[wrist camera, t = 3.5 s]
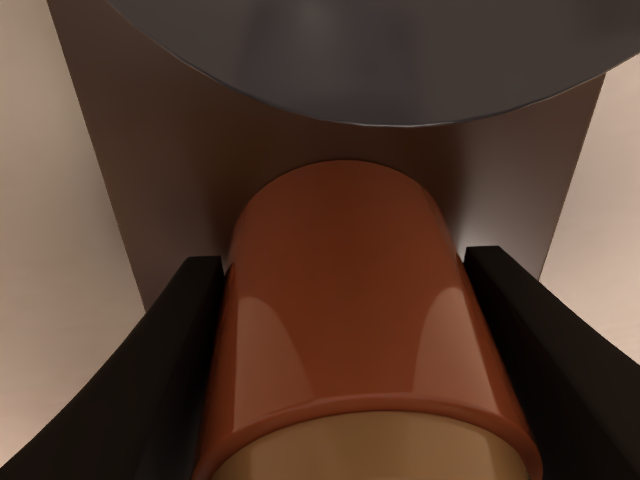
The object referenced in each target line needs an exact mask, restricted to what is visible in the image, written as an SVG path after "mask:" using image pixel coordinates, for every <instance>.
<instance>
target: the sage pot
mask: <svg viewBox="0 0 640 480" xmlns="http://www.w3.org/2000/svg"><path fill="white" fill-rule="evenodd" d="M105 1H106V2H107V3H108V4H109V5H110V6H112V7H113V8H114V9H115V10H116V11H117V12H118V13H119V14H120V15H121V16H122V17H124V18H125V19H126V20H127V21H128V22H129V23H130V24H131V25H132V26H133V27H135V28H136V29H137V30H139V31H140V32H141V33H143V34H144V35H145V36H147V37H148V38H150V39H151V40H152V41H154V42H155V43H156V44H158V45H159V46H160V47H162V48H163V49H164V50H166V51H167V52H169V53H170V54H171V55H173V56H174V57H175V58H177V59H178V60H179V61H181V62H183V63H184V64H186V65H188V66H190V67H191V68H193V69H195V70H197V71H198V72H200V73H202V74H204V75H205V76H207V77H209V78H211V79H212V80H214V81H216V82H218V83H219V84H221V85H223V86H225V87H226V88H229V89H231V90H233V91H236V92H238V93H240V94H243V95H245V96H247V97H250V98H252V99H255V100H257V101H259V102H262V103H264V104H266V105H269V106H271V107H274V108H278V109H281V110H285V111H288V112H292V113H295V114H299V115H302V116H306V117H309V118H313V119H316V120H321V121H327V122H334V123H340V124H347V125H353V126H360V127H375V128H409V129H410V128H421V127H432V126H442V125H453V124H460V123H464V122H469V121H474V120H478V119H483V118H488V117H492V116H497V115H502V114H505V113H508V112H511V111H514V110H517V109H520V108H523V107H526V106H529V105H532V104H535V103H538V102H541V101H544V100H547V99H550V98H553V97H555V96H557V95H559V94H561V93H564V92H566V91H568V90H570V89H573V88H575V87H577V86H579V85H581V84H584V83H586V82H588V81H590V80H592V79H595V78H597V77H599V76H601V75H603V74H604V73H606V72H608V71H609V70H611V69H613V68H615V67H616V66H618V65H620V64H622V63H623V62H625V61H627V60H629V59H630V58H632V57H634V56H635V55H637V54H639V53H640V0H105Z"/></svg>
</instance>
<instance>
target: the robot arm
mask: <svg viewBox="0 0 640 480" xmlns="http://www.w3.org/2000/svg"><path fill="white" fill-rule="evenodd" d="M463 264H464V267H465V269H466V271H467V274H468V276H469V279H470V281H471V284H472V286H473V289H474V291H475V294H476V296H477V298H478V301H479V303H480V306H481V308H482V311H483V313H484V316H485V318H486V320H487V323H488V325H489V328H490V330H491V333H492V335H493V338H494V340H495V343H496V345H497V347H498V350H499V352H500V355H501V357H502V360H503V362H504V365H505V367H506V370H507V372H508V374H509V377H510V379H511V382H512V384H513V387H514V389H515V392H516V394H517V396H518V399H519V401H520V404H521V406H522V409H523V411H524V414H525V416H526V419H527V421H528V423H529V426H530V428H531V431H532V433H533V436H534V438H535V441H536V443H537V446H538V448H539V450H540V453H541V455H542V461H543V467H544V472H543V480H640V365H639V364H637V363H636V362H635V361H633V360H632V359H631V358H630V357H628V356H627V355H626V354H624V353H623V352H622V351H620V350H619V349H618V348H617V347H615V346H614V345H613V344H611V343H610V342H609V341H608V340H606V339H605V338H604V337H603V336H601V335H600V334H599V333H598V332H597V331H595V330H594V329H593V328H592V327H590V326H589V325H588V324H587V323H586V322H584V321H583V320H582V319H581V318H580V317H579V316H577V315H576V314H575V313H574V312H573V311H572V310H570V309H569V308H568V307H567V306H566V305H565V304H563V303H562V302H561V301H560V300H559V299H558V298H557V297H556V296H554V295H553V294H552V293H551V292H550V291H549V290H548V289H547V288H545V287H544V286H543V285H542V284H541V283H540V282H539V281H538V280H537V279H535V278H534V277H533V276H532V275H531V274H530V273H529V272H528V271H527V270H526V269H524V268H523V267H522V266H521V265H520V264H519V263H518V262H517V261H516V260H515V259H513V258H512V257H511V256H510V255H509V254H508V253H507V252H506V251H504V250H503V249H502V248H501V247H500V246H499V245H497V246H470V247H466V251H465V256H464V261H463ZM224 277H225V276H224V271H223V265H222V259H221V256H194V257H188V258H187V259H186V260H185V261H184V262H183V263H182V264H181V266H180V267H179V269H178V270H177V271H176V273H175V274H174V276H173V277H172V278H171V280H170V281H169V283H168V284H167V285H166V287H165V288H164V290H163V291H162V292H161V294H160V295H159V296H158V298H157V299H156V300H155V302H154V303H153V304H152V306H151V307H150V308H149V310H148V311H147V312H146V314H145V315H144V316H143V317H142V319H141V320H140V321H139V322H138V324H137V325H136V326H135V327H134V329H133V330H132V331H131V333H130V334H129V335H128V336H127V338H126V339H125V340H124V341H123V343H122V344H121V345H120V346H119V347H118V349H117V350H116V351H115V352H114V353H113V354H112V355H111V357H110V358H109V359H108V360H107V361H106V362H105V363H104V365H103V366H102V367H101V368H100V369H99V370H98V371H97V373H96V374H95V375H94V376H93V377H92V378H91V379H90V381H89V382H88V383H87V384H86V385H85V386H84V387H83V388H82V389H81V390H80V391H79V392H78V394H77V395H76V396H75V397H74V398H73V399H72V400H71V401H70V402H69V403H68V404H67V405H66V406H65V407H64V408H63V409H62V410H61V411H60V412H59V413H58V414H57V415H56V416H55V417H54V418H53V419H52V420H51V421H50V422H49V423H48V424H47V425H46V426H45V427H44V428H43V429H42V430H41V431H40V432H39V433H38V434H37V435H36V436H35V437H34V438H33V439H32V440H31V441H30V442H28V443H27V444H26V445H25V446H24V447H23V448H22V449H21V450H20V451H19V452H17V453H16V454H15V455H14V456H13V457H12V458H11V459H10V460H9V461H8V462H6V463H5V464H4V465H3V466H2V467H1V468H0V480H189V479H190V473H191V467H192V461H193V456H194V450H195V444H196V438H197V432H198V427H199V421H200V415H201V409H202V404H203V398H204V392H205V386H206V380H207V375H208V369H209V363H210V357H211V352H212V346H213V340H214V334H215V329H216V323H217V317H218V311H219V305H220V300H221V294H222V288H223V282H224Z"/></svg>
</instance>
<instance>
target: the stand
mask: <svg viewBox="0 0 640 480" xmlns="http://www.w3.org/2000/svg"><path fill="white" fill-rule="evenodd" d="M47 3H48V6H49V9H50V12H51V15H52V19H53V22H54V25H55V28H56V31H57V34H58V38H59V41H60V44H61V47H62V50H63V53H64V56H65V60H66V63H67V66H68V69H69V72H70V75H71V78H72V82H73V85H74V88H75V91H76V94H77V97H78V101H79V104H80V107H81V110H82V113H83V116H84V119H85V123H86V126H87V129H88V132H89V135H90V138H91V141H92V145H93V148H94V151H95V154H96V157H97V160H98V164H99V167H100V170H101V173H102V176H103V179H104V182H105V186H106V189H107V192H108V195H109V198H110V201H111V205H112V208H113V211H114V214H115V217H116V220H117V223H118V227H119V230H120V233H121V236H122V239H123V242H124V245H125V249H126V252H127V255H128V258H129V261H130V264H131V268H132V271H133V274H134V277H135V280H136V283H137V286H138V290H139V293H140V296H141V299H142V302H143V305H144V308H145V312H147V311H148V310H149V308H150V307H151V306H152V304H153V303H154V302H155V300H156V299H157V298H158V296H159V295H160V294H161V292H162V291H163V290H164V288H165V287H166V285H167V284H168V283H169V281H170V280H171V278H172V277H173V276H174V274H175V273H176V271H177V270H178V269H179V267H180V266H181V264H182V263H183V262H184V261H185V260H186V259H187V258H188V257H194V256H221V259H222V265H223V271H224V276H225V271H226V265H227V259H228V253H229V248H230V242H231V237H232V233H233V229H234V226H235V224H236V222H237V219H238V217H239V215H240V214H241V212H242V211H243V209H244V208H245V206H246V204H247V203H248V202H249V201H250V200H251V199H252V198H253V197H254V195H255V194H256V193H258V192H259V191H260V190H261V189H262V188H264V187H265V186H266V185H267V184H269V183H270V182H272V181H273V180H275V179H276V178H278V177H279V176H281V175H284V174H286V173H288V172H290V171H292V170H294V169H297V168H300V167H303V166H306V165H309V164H314V163H318V162H323V161H332V160H359V161H365V162H372V163H376V164H379V165H383V166H387V167H389V168H392V169H394V170H396V171H399V172H401V173H403V174H405V175H406V176H408V177H410V178H411V179H413V180H415V181H416V182H417V183H418V184H420V185H421V186H422V187H423V188H425V189H426V191H427V192H428V193H429V194H430V195H431V196H432V197H433V198H434V200H435V201H436V203H437V204H438V206H439V207H440V209H441V211H442V213H443V215H444V218H445V220H446V222H447V225H448V227H449V230H450V232H451V235H452V237H453V240H454V242H455V244H456V247H457V249H458V252H459V254H460V257H461V259H462V262H463V261H464V256H465V251H466V247H470V246H497V245H499V246H500V247H501V248H502V249H503V250H504V251H506V252H507V253H508V254H509V255H510V256H511V257H512V258H513V259H515V260H516V261H517V262H518V263H519V264H520V265H521V266H522V267H523V268H524V269H526V270H527V271H528V272H529V273H530V274H531V275H532V276H533V277H534V278H535V279H537V280H538V281H539V278H540V275H541V272H542V269H543V266H544V263H545V260H546V257H547V254H548V251H549V248H550V245H551V242H552V238H553V235H554V232H555V229H556V226H557V223H558V220H559V217H560V214H561V211H562V208H563V205H564V201H565V198H566V195H567V192H568V189H569V186H570V183H571V180H572V177H573V174H574V171H575V168H576V165H577V161H578V158H579V155H580V152H581V149H582V146H583V143H584V140H585V137H586V134H587V131H588V128H589V124H590V121H591V118H592V115H593V112H594V109H595V106H596V103H597V100H598V97H599V94H600V91H601V88H602V84H603V81H604V78H605V75H606V73H604V74H603V75H601V76H599V77H597V78H595V79H592V80H590V81H588V82H586V83H584V84H581V85H579V86H577V87H575V88H573V89H570V90H568V91H566V92H564V93H561V94H559V95H557V96H555V97H553V98H550V99H547V100H544V101H541V102H538V103H535V104H532V105H529V106H526V107H523V108H520V109H517V110H514V111H511V112H508V113H505V114H502V115H497V116H492V117H488V118H483V119H478V120H474V121H469V122H464V123H460V124H453V125H442V126H432V127H421V128H410V129H409V128H375V127H360V126H353V125H347V124H340V123H334V122H327V121H321V120H316V119H313V118H309V117H306V116H302V115H299V114H295V113H292V112H288V111H285V110H281V109H278V108H274V107H271V106H269V105H266V104H264V103H262V102H259V101H257V100H255V99H252V98H250V97H247V96H245V95H243V94H240V93H238V92H236V91H233V90H231V89H229V88H226V87H225V86H223V85H221V84H219V83H218V82H216V81H214V80H212V79H211V78H209V77H207V76H205V75H204V74H202V73H200V72H198V71H197V70H195V69H193V68H191V67H190V66H188V65H186V64H184V63H183V62H181V61H179V60H178V59H177V58H175V57H174V56H173V55H171V54H170V53H169V52H167V51H166V50H164V49H163V48H162V47H160V46H159V45H158V44H156V43H155V42H154V41H152V40H151V39H150V38H148V37H147V36H145V35H144V34H143V33H141V32H140V31H139V30H137V29H136V28H135V27H133V26H132V25H131V24H130V23H129V22H128V21H127V20H126V19H125V18H124V17H122V16H121V15H120V14H119V13H118V12H117V11H116V10H115V9H114V8H113V7H112V6H110V5H109V4H108V3H107V2H106V1H105V0H47Z"/></svg>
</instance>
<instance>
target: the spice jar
mask: <svg viewBox="0 0 640 480" xmlns="http://www.w3.org/2000/svg"><path fill="white" fill-rule="evenodd" d="M543 472H544V467H543V461H542V455H541V453H540V450H539V448H538V446H537V443H536V441H535V438H534V436H533V433H532V431H531V428H530V426H529V423H528V421H527V419H526V416H525V414H524V411H523V409H522V406H521V404H520V401H519V399H518V396H517V394H516V392H515V389H514V387H513V384H512V382H511V379H510V377H509V374H508V372H507V370H506V367H505V365H504V362H503V360H502V357H501V355H500V352H499V350H498V347H497V345H496V343H495V340H494V338H493V335H492V333H491V330H490V328H489V325H488V323H487V320H486V318H485V316H484V313H483V311H482V308H481V306H480V303H479V301H478V298H477V296H476V294H475V291H474V289H473V286H472V284H471V281H470V279H469V276H468V274H467V271H466V269H465V267H464V264H463V262H462V259H461V257H460V254H459V252H458V249H457V247H456V244H455V242H454V240H453V237H452V235H451V232H450V230H449V227H448V225H447V222H446V220H445V218H444V215H443V213H442V211H441V209H440V207H439V206H438V204H437V203H436V201H435V200H434V198H433V197H432V196H431V195H430V194H429V193H428V192H427V191H426V189H425V188H423V187H422V186H421V185H420V184H418V183H417V182H416V181H415V180H413V179H411V178H410V177H408V176H406V175H405V174H403V173H401V172H399V171H396V170H394V169H392V168H389V167H387V166H383V165H379V164H376V163H372V162H365V161H359V160H332V161H323V162H318V163H314V164H309V165H306V166H303V167H300V168H297V169H294V170H292V171H290V172H288V173H286V174H284V175H281V176H279V177H278V178H276V179H275V180H273V181H272V182H270V183H269V184H267V185H266V186H265V187H264V188H262V189H261V190H260V191H259V192H258V193H256V194H255V195H254V197H253V198H252V199H251V200H250V201H249V202H248V203H247V204H246V206H245V208H244V209H243V211H242V212H241V214H240V215H239V217H238V219H237V222H236V224H235V226H234V229H233V233H232V237H231V242H230V248H229V253H228V259H227V265H226V271H225V277H224V282H223V288H222V294H221V300H220V305H219V311H218V317H217V323H216V329H215V334H214V340H213V346H212V352H211V357H210V363H209V369H208V375H207V380H206V386H205V392H204V398H203V404H202V409H201V415H200V421H199V427H198V432H197V438H196V444H195V450H194V456H193V461H192V467H191V473H190V479H189V480H543Z"/></svg>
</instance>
